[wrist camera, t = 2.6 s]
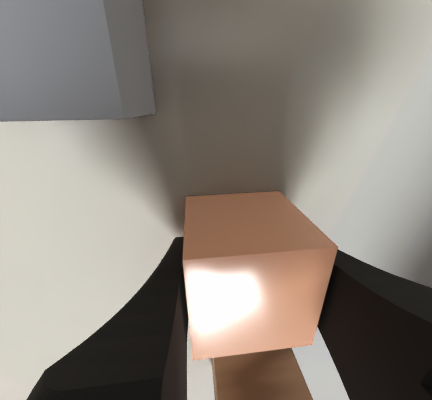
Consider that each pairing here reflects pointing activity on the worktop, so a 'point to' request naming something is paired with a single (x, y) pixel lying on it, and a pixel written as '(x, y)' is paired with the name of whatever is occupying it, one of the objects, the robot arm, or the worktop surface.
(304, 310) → the terracotta cube
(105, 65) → the slate cube
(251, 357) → the walnut cube
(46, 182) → the worktop surface
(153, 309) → the robot arm
